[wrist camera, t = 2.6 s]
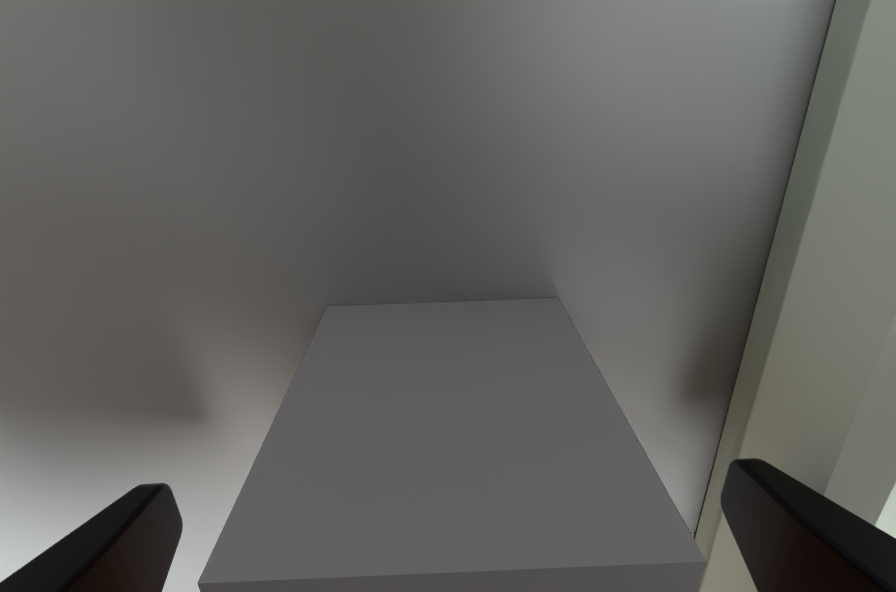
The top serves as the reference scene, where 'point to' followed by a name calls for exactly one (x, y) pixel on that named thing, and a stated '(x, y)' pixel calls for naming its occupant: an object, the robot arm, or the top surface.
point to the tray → (825, 303)
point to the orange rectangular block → (452, 465)
